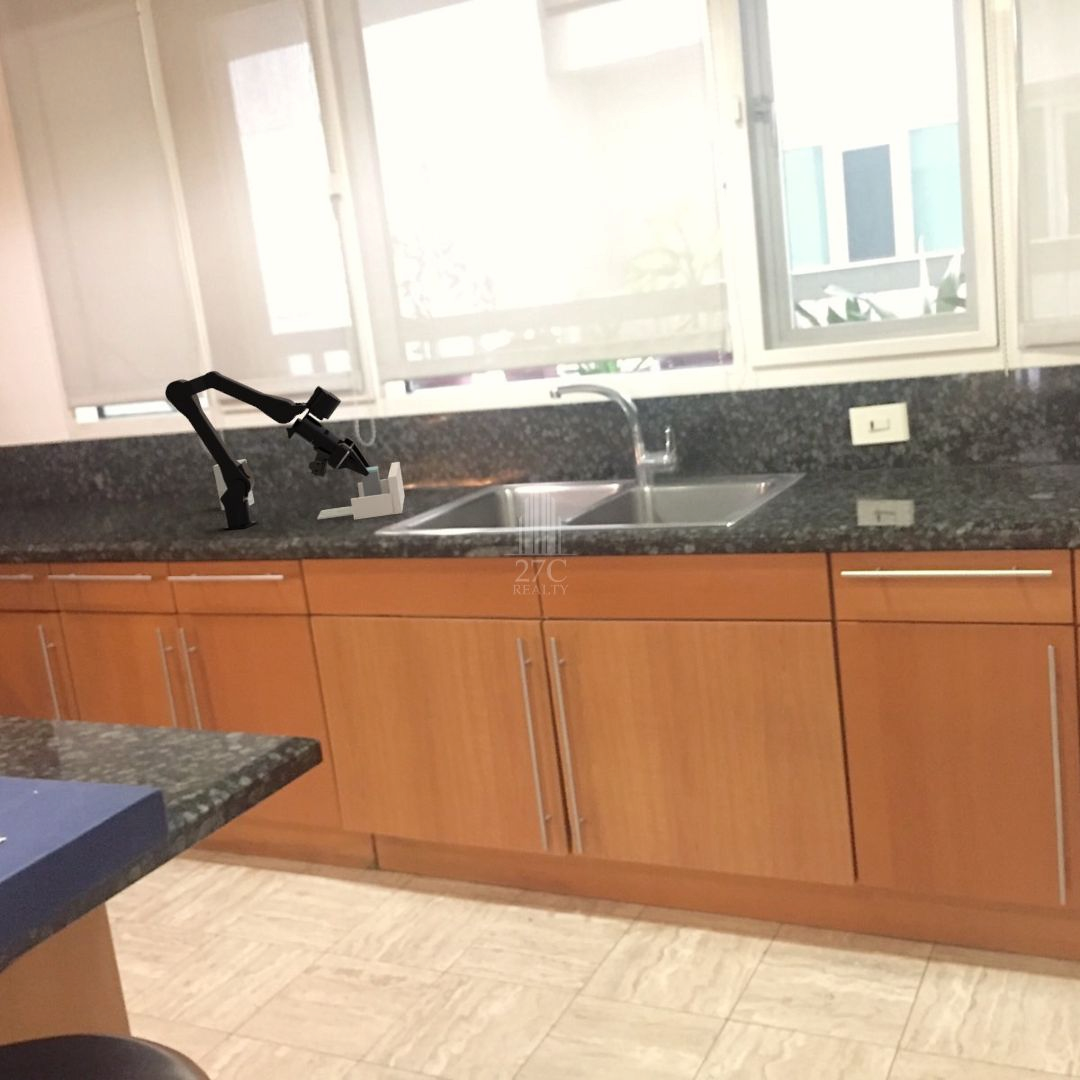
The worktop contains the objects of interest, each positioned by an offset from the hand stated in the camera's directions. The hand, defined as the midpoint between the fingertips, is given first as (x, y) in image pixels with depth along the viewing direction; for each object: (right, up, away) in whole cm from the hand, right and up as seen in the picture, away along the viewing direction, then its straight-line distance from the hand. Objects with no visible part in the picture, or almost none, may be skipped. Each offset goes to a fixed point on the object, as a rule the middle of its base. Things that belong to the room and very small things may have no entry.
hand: (369, 472), depth 296 cm
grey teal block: (+1, -9, +2) cm, 9 cm away
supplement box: (-41, -8, +33) cm, 53 cm away
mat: (-8, -10, +1) cm, 13 cm away
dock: (+3, -9, +2) cm, 9 cm away
